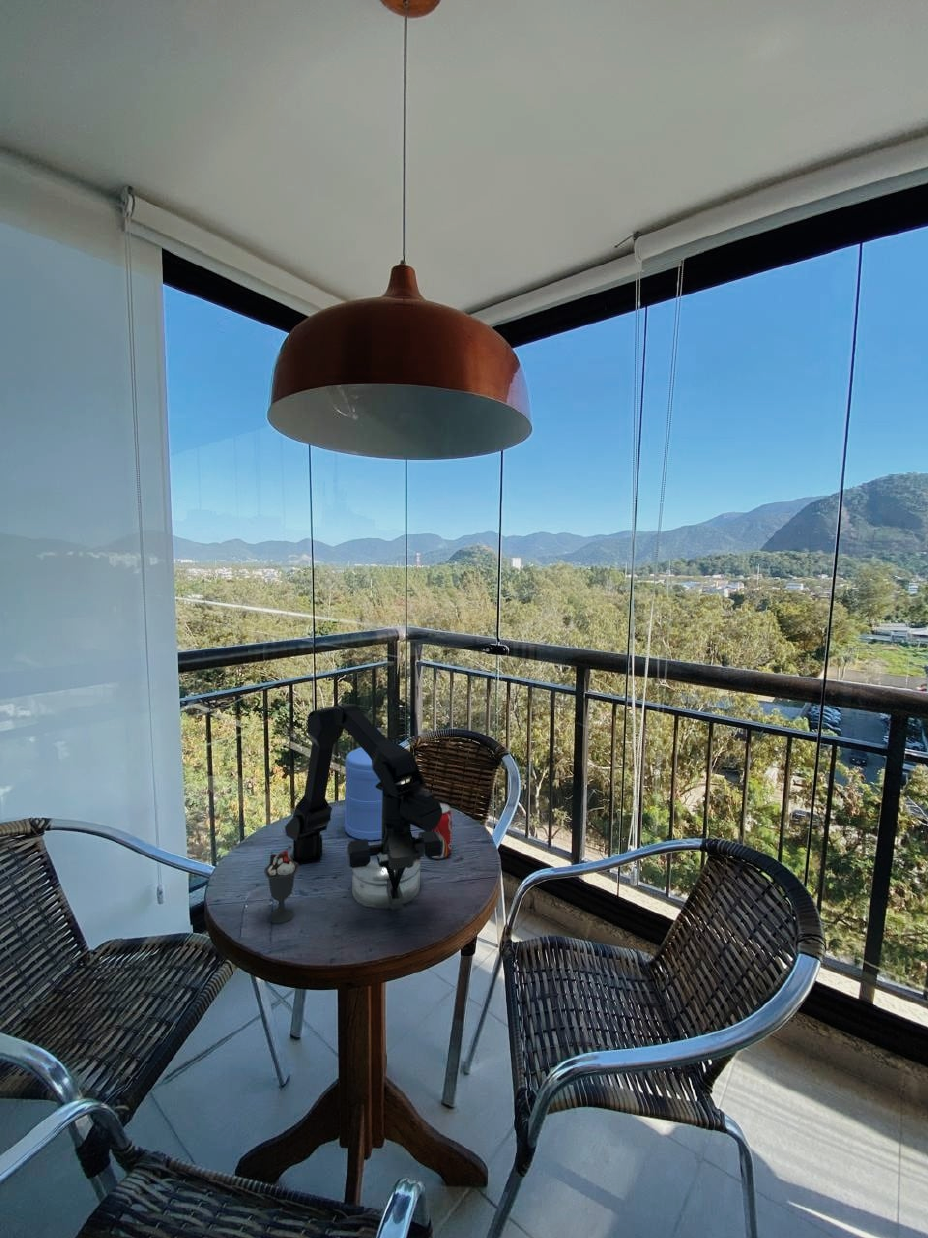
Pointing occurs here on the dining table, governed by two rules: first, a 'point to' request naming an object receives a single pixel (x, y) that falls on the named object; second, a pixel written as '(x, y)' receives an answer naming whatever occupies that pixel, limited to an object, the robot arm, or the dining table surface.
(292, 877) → the sundae
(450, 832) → the soda can
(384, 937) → the dining table surface
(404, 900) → the cooker pot
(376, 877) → the cooker lid
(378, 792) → the water jug
